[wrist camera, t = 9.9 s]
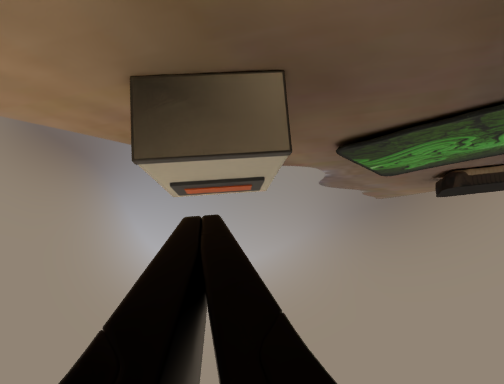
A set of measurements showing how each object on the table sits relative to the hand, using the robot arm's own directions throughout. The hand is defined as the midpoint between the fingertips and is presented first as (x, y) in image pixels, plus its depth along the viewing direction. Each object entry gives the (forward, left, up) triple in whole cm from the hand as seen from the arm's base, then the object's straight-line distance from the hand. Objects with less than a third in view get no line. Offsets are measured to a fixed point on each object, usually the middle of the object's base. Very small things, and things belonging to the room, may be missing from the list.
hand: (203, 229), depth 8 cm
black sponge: (+15, +65, -10) cm, 67 cm away
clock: (+9, +6, -7) cm, 13 cm away
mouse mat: (+6, +39, -10) cm, 41 cm away
